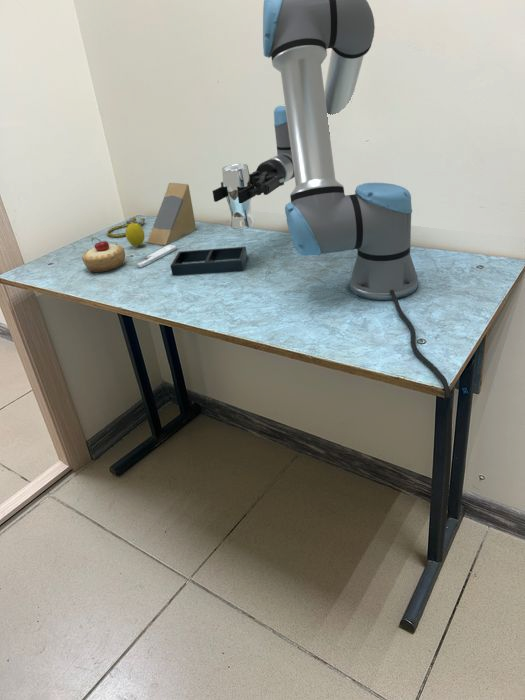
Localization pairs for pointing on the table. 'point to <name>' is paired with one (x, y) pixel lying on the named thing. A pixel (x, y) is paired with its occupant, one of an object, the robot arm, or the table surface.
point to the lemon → (135, 234)
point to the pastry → (104, 257)
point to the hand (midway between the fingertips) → (226, 197)
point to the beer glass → (234, 182)
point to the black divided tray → (209, 261)
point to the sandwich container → (173, 216)
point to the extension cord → (125, 226)
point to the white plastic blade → (157, 255)
